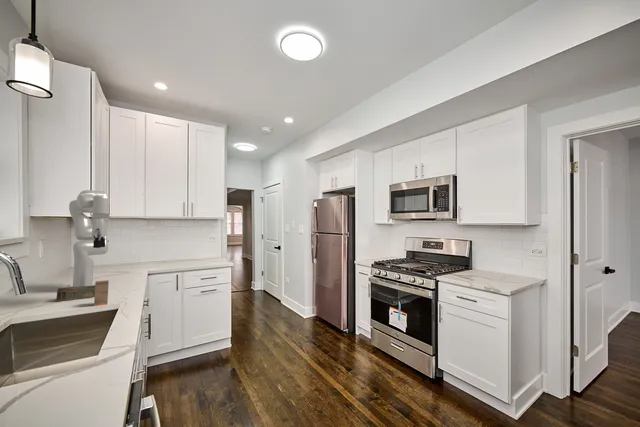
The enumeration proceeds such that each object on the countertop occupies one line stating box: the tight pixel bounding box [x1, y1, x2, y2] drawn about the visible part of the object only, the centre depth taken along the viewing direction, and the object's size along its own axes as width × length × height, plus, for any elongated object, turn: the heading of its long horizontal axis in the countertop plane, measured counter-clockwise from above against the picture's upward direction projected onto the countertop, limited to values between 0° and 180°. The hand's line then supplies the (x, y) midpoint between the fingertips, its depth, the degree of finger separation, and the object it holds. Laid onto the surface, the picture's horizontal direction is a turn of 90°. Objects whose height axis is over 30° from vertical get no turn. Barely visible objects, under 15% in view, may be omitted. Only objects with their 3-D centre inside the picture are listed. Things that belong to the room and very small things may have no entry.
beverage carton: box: [56, 284, 95, 303], centre depth 160 cm, size 8×19×7 cm, turn 132°
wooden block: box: [93, 279, 110, 307], centre depth 149 cm, size 6×6×12 cm
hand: (99, 247), depth 158 cm, fingers open, 9 cm apart
